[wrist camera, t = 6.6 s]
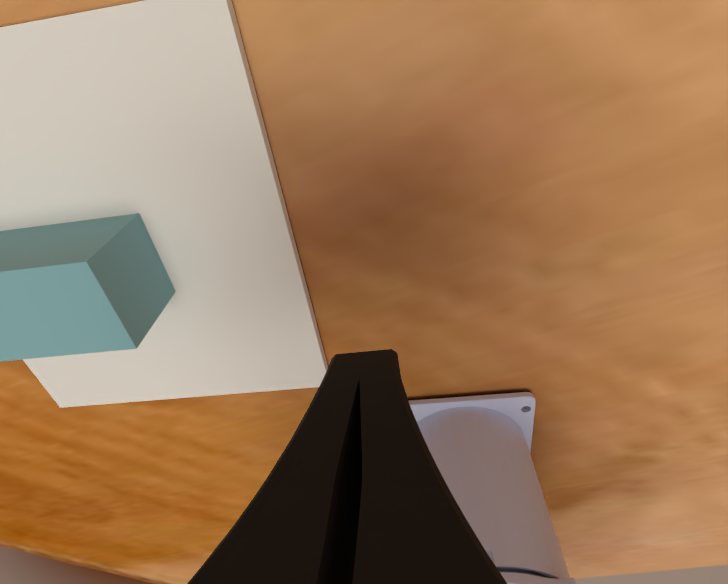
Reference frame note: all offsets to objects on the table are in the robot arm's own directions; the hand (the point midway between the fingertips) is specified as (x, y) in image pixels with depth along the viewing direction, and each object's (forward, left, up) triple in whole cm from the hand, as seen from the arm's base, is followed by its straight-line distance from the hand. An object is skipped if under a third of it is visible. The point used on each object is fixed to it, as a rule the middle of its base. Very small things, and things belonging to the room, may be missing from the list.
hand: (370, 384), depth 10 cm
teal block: (-1, +10, -8) cm, 13 cm away
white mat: (-1, +12, -10) cm, 16 cm away
